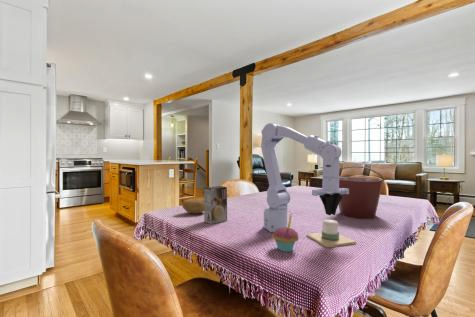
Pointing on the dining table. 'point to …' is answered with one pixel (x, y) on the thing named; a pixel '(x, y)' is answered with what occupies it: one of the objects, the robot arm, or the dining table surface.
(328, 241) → the beige square tray
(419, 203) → the dining table surface
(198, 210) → the potato
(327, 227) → the cap
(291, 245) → the cupcake
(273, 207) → the robot arm
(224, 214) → the coffee box
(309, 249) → the dining table surface
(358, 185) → the bucket
